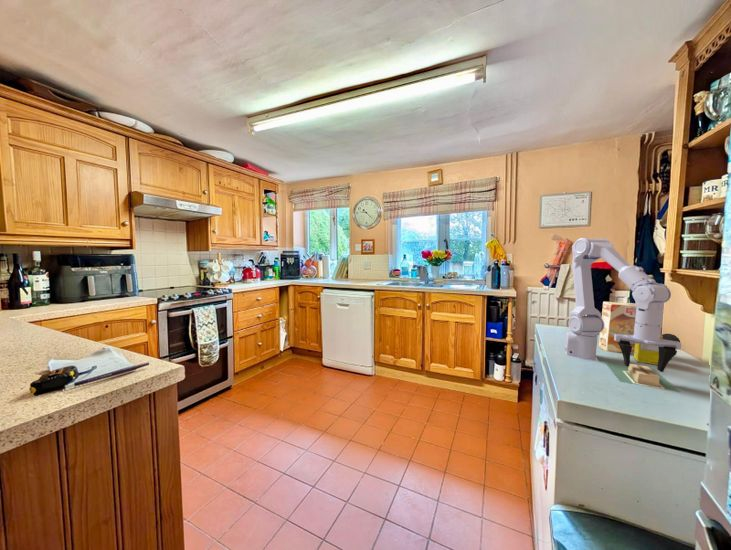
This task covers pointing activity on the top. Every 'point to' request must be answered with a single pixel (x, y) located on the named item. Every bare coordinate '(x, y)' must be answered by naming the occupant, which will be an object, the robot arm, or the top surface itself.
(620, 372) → the green mat
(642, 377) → the slotted wooden block
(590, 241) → the robot arm
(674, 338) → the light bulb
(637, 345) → the supplement box
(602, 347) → the coffeecake box
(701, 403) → the top surface
